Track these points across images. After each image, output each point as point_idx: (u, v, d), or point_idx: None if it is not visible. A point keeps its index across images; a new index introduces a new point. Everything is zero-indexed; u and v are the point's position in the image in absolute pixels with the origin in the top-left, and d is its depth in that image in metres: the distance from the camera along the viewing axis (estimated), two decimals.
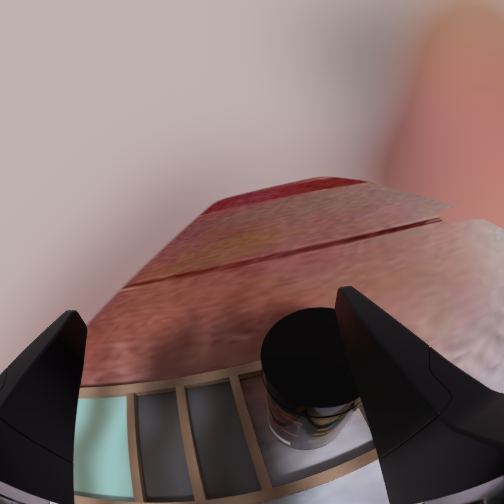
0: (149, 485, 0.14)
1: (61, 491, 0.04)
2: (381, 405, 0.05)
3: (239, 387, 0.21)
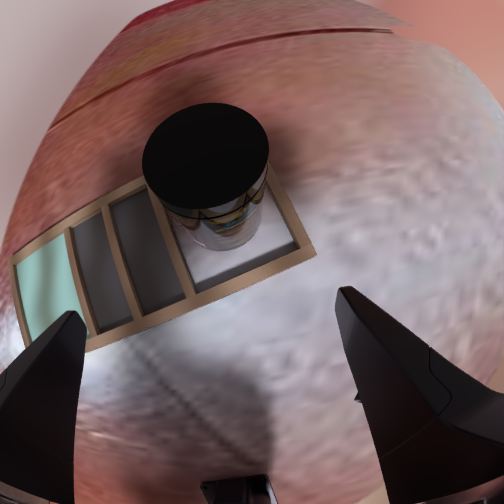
0: (98, 315, 0.21)
1: (61, 491, 0.04)
2: (381, 405, 0.05)
3: None
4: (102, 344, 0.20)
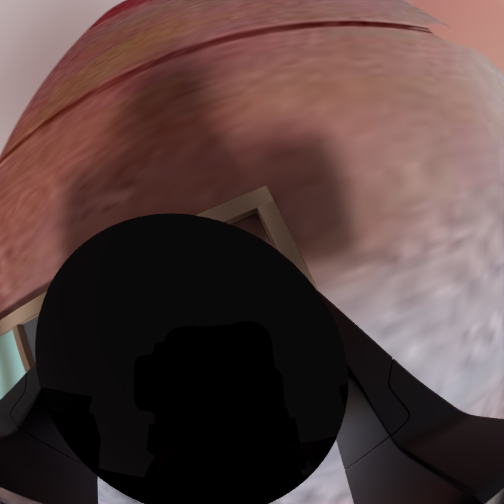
0: None
1: (85, 500, 0.04)
2: None
3: None
4: None
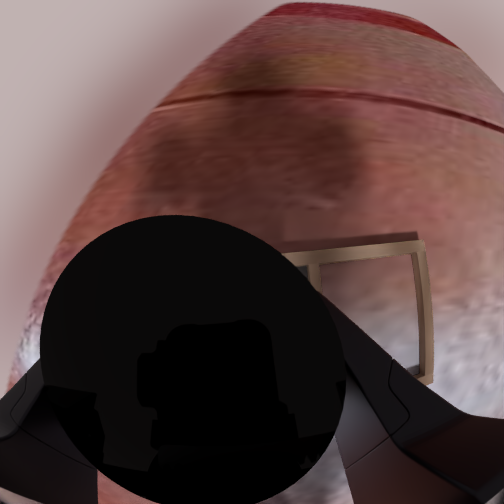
0: None
1: (85, 501, 0.04)
2: (342, 416, 0.05)
3: (319, 281, 0.20)
4: None
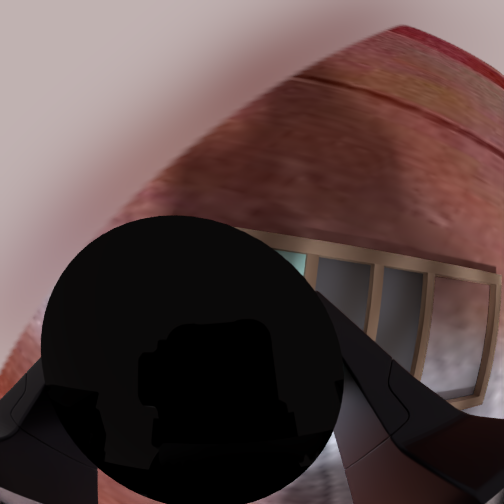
0: None
1: (86, 501, 0.04)
2: (342, 416, 0.05)
3: (432, 290, 0.17)
4: None
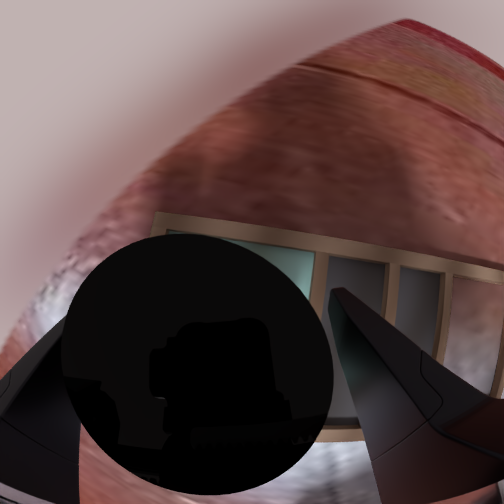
0: None
1: (66, 493, 0.04)
2: (373, 408, 0.05)
3: (450, 291, 0.15)
4: None
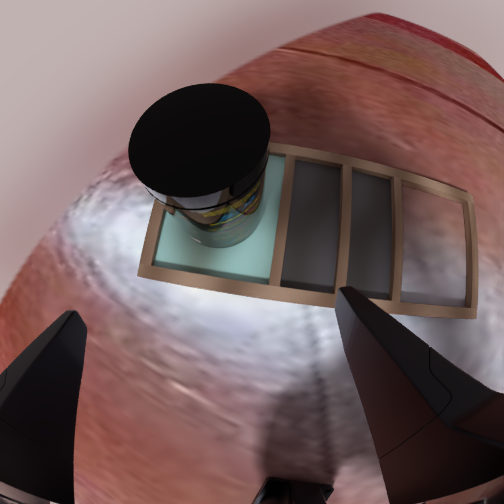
0: (288, 265, 0.21)
1: (61, 491, 0.04)
2: (381, 405, 0.05)
3: (400, 191, 0.21)
4: (281, 299, 0.19)
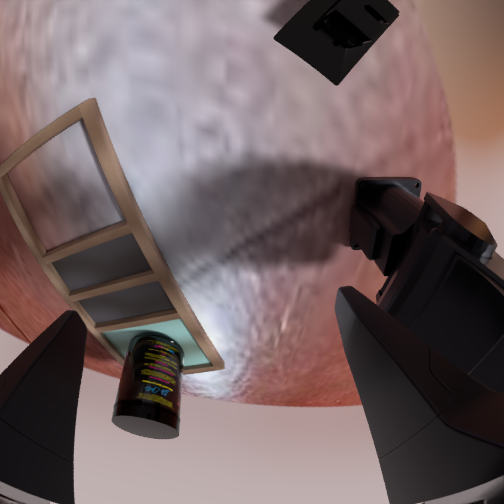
0: (161, 307, 0.25)
1: (61, 491, 0.04)
2: (381, 405, 0.05)
3: (50, 255, 0.20)
4: (185, 309, 0.25)
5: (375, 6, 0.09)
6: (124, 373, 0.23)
